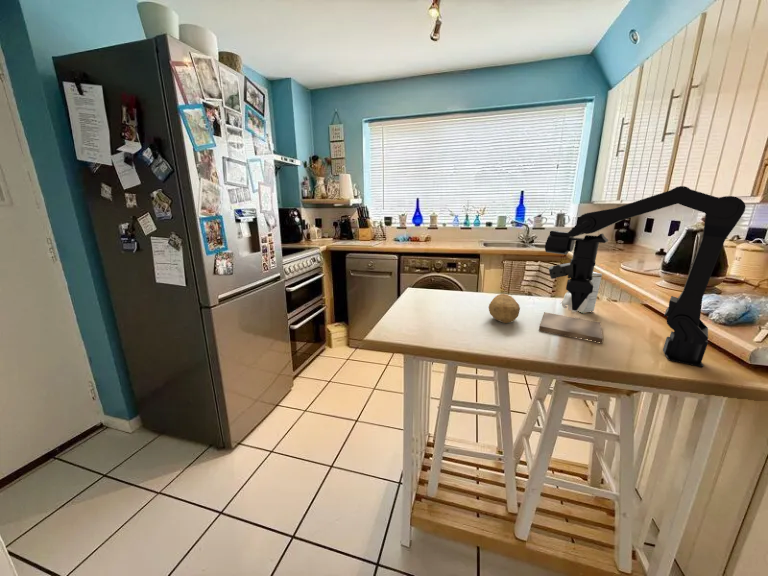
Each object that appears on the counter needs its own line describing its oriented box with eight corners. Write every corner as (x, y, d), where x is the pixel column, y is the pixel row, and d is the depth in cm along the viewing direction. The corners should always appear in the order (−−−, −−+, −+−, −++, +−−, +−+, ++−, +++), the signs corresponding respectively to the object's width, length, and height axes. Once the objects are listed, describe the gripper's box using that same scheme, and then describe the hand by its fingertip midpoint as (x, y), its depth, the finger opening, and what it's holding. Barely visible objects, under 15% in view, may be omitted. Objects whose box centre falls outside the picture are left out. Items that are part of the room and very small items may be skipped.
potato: (487, 326, 96) (489, 302, 94) (487, 311, 109) (489, 290, 106) (520, 331, 93) (524, 306, 91) (517, 315, 106) (520, 293, 103)
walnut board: (599, 326, 97) (600, 322, 97) (601, 343, 86) (602, 338, 85) (543, 316, 105) (544, 312, 105) (538, 330, 94) (539, 325, 93)
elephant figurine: (554, 306, 97) (557, 288, 95) (579, 307, 97) (583, 289, 95) (566, 314, 90) (570, 295, 89) (593, 314, 90) (597, 295, 89)
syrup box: (568, 308, 113) (575, 270, 109) (580, 307, 114) (588, 269, 110) (581, 314, 107) (589, 274, 103) (594, 312, 109) (603, 273, 105)
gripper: (555, 249, 100) (547, 295, 105) (550, 258, 85) (541, 311, 90) (595, 253, 95) (586, 300, 99) (598, 263, 80) (586, 318, 84)
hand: (574, 307), depth 93 cm, fingers closed on elephant figurine, 6 cm apart
